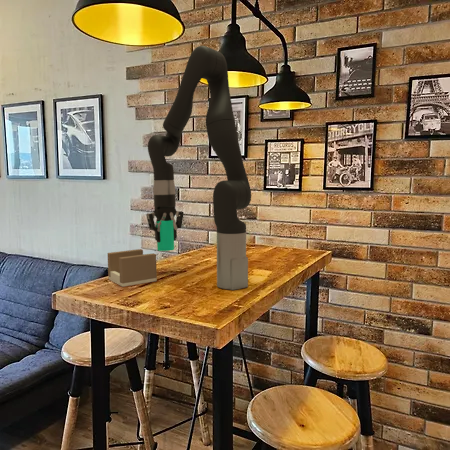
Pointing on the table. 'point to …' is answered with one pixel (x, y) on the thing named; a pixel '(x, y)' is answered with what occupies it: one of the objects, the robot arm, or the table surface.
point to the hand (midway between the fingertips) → (166, 241)
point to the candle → (166, 236)
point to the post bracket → (131, 267)
